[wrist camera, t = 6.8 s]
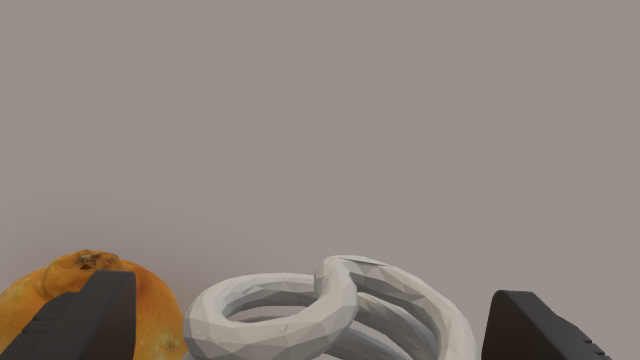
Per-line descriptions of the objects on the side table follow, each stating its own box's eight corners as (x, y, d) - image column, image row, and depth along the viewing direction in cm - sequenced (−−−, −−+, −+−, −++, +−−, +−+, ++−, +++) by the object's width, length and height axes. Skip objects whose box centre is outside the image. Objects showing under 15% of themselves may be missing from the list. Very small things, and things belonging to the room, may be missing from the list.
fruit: (170, 484, 16) (173, 236, 19) (-112, 516, 15) (-74, 247, 17) (196, 434, 24) (196, 263, 26) (11, 452, 23) (26, 272, 25)
